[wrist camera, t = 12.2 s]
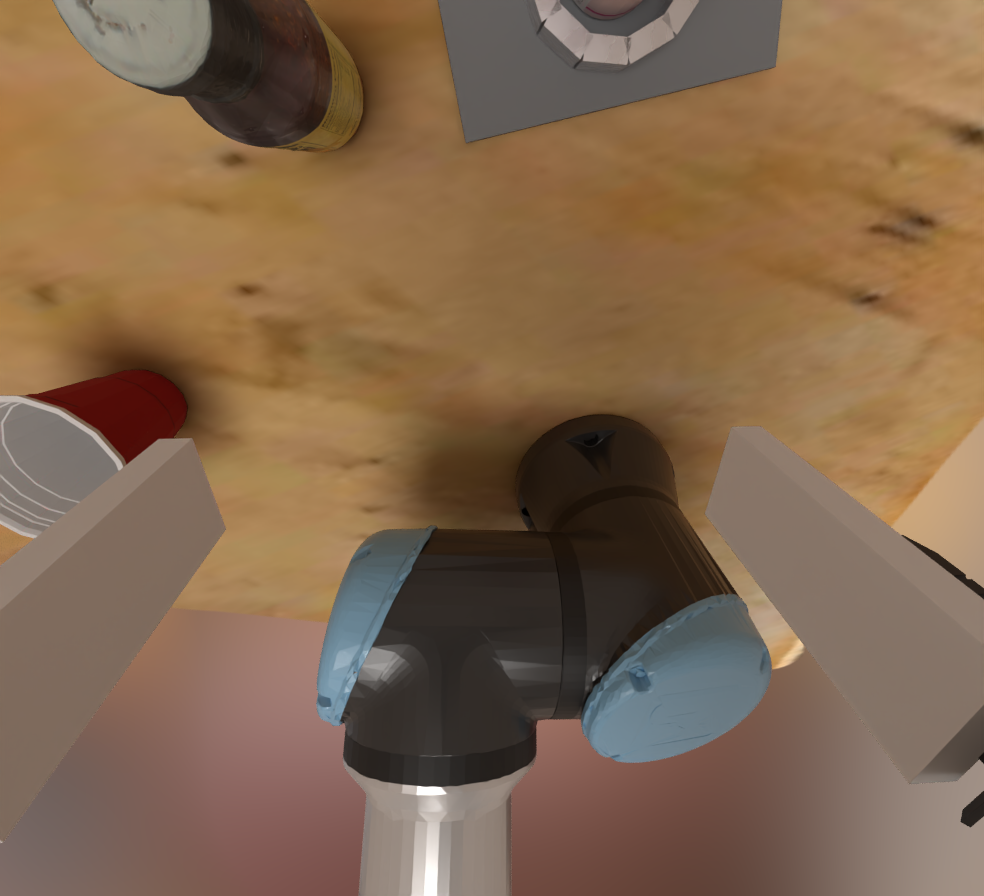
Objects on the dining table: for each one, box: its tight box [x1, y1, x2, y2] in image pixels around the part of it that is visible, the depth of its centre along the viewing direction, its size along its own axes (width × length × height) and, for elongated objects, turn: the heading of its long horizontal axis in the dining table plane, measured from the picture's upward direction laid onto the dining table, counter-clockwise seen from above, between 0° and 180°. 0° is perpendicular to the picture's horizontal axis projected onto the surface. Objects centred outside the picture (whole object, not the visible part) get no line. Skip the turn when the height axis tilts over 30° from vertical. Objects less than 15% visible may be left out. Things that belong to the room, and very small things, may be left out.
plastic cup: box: [0, 370, 187, 538], centre depth 33 cm, size 11×11×12 cm
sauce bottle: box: [53, 0, 363, 152], centre depth 20 cm, size 6×6×20 cm
